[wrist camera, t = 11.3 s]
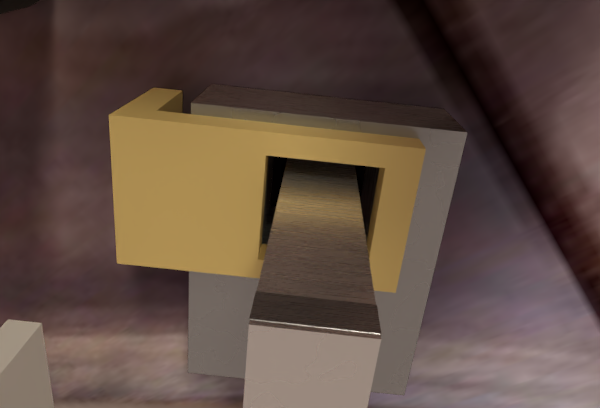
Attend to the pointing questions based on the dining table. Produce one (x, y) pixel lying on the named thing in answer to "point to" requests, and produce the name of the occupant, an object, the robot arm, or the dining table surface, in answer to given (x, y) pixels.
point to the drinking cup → (14, 5)
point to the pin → (314, 297)
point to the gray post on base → (422, 232)
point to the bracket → (237, 186)
